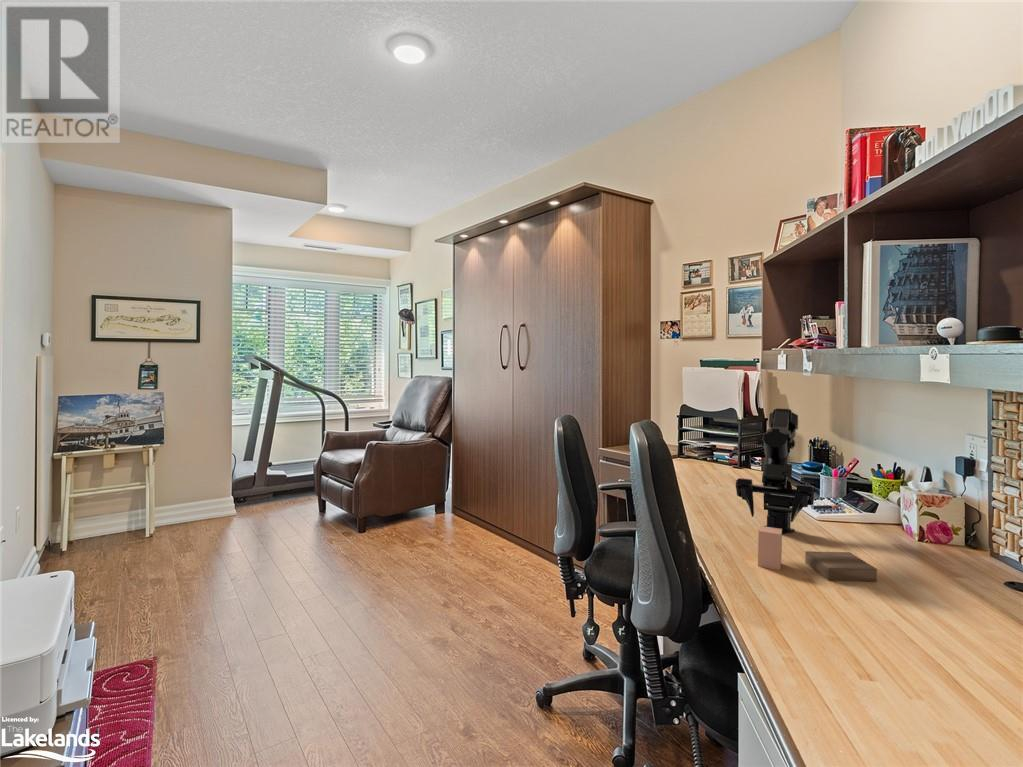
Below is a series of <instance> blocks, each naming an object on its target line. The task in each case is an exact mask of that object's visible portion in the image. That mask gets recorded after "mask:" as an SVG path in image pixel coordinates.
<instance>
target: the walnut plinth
mask: <svg viewBox="0 0 1023 767" xmlns="http://www.w3.org/2000/svg"><path fill="white" fill-rule="evenodd" d="M804 556H805V557H804V559H805V561H804V563H805V564H806V565H808V566H809V567H810V568H812V569H813V570H814V571H815V572H817V573H818V574H820V575H821V577H823V578H825V579H826V580H827V581H841V582H842V581H843V582H847V581H848V582H877V581H878V578H877V577H878V568H876V567H875V566H873V565H871V564H869V563H868V562H867V561H865V560H863V559H862V558H860V557H858V556H857V555H855V554H853V553H852V552H850V551H849V552H847V551H845V552H843V551H842V552H841V551H815V550H814V551H811V550H807V551H805V555H804Z"/></svg>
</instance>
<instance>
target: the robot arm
mask: <svg viewBox="0 0 1023 767" xmlns="http://www.w3.org/2000/svg"><path fill="white" fill-rule="evenodd" d="M768 417H769V418H768V427H769V428H768V429H767V430H766V433H765V435H763V436H762V439H761V447H762V448H764V455H765V459H764V464H763V469H762V471H763V472H762V474H761V475H762V477H761V483H762V485H761V484H754V483H753V479H751V478H742V477H739V478H738V477H737V479H736V480H735V489H736V490H735V491H736V496H737V497H738V498H741V499H742V500H745V502H746V504H747V505H748V508H749V512H750V515H751V517H752V518H753V517H754V516H755V506H754V505H755V504H754V503H755V501H754V493H759V494H760V493H761V494H763V511H767V515H766V525H764V526H765V527H772V528H779V529H782V534H787V533H794V532H795V531H796V530H795V528H791V523H793V522H794V521H795V519H796V517H797V516H798V514H799V513H800V512H801V511H802V510H803V508H808V507H809V506H814V501H815V500H814V498H815V496H814V494H815V488H814V487H813V485H810V484H801V483H800V484H799V483H797V484H796V488H793V485H792V483H791V481H790V480H789V479H788V478H792V477H793V464H792V463H791V464H790V463H789V460H790V459H789V457H790V453H791V450H794V448H795V447H796V441H795V439H794V438H795V437H796V431H797V430H799V415H798V414H797V413H795V412H793V411H792V409H789V408H774V409H773V411H772V412H771V413H769V415H768Z"/></svg>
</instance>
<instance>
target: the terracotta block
mask: <svg viewBox="0 0 1023 767" xmlns="http://www.w3.org/2000/svg"><path fill="white" fill-rule="evenodd" d="M765 526H766V525H760V526H759V529H758V540H757V541H758V543H757V544H758V546H757V547H758V548H757V566H758V567H761V568H766V569H772V570H777V571H781V567H782V556H783V555H782V554H783V553H782V548H783V546H782V545H783V533H782V529H779V528H772V527H765Z"/></svg>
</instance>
